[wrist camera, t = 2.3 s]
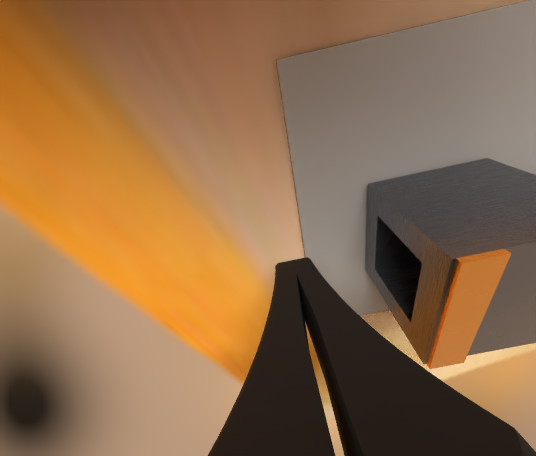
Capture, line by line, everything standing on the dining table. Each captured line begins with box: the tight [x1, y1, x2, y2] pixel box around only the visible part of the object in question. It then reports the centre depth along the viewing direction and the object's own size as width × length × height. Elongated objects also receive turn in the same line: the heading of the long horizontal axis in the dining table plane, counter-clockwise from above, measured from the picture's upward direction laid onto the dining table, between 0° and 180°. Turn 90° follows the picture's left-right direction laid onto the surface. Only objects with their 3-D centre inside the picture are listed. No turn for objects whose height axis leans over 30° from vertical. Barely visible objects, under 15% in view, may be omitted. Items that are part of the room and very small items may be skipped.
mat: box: [276, 0, 536, 316], centre depth 12 cm, size 18×14×1 cm
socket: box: [366, 158, 536, 369], centre depth 10 cm, size 5×5×5 cm
